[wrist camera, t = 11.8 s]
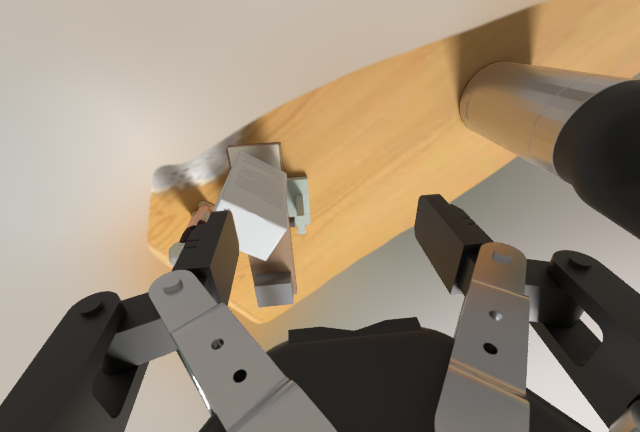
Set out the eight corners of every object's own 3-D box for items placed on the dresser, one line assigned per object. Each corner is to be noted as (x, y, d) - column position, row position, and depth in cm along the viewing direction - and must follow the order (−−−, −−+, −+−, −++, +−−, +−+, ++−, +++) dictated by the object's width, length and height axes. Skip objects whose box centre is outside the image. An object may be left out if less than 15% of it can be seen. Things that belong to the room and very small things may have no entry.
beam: (286, 136, 36) (285, 150, 31) (300, 280, 48) (301, 305, 43) (224, 140, 36) (214, 155, 31) (254, 284, 47) (250, 310, 43)
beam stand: (307, 176, 44) (310, 198, 38) (310, 221, 49) (313, 247, 43) (225, 182, 44) (216, 206, 38) (236, 227, 48) (228, 254, 42)
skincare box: (225, 179, 35) (199, 237, 25) (240, 148, 33) (219, 196, 23) (272, 201, 37) (266, 263, 27) (289, 173, 35) (288, 228, 25)
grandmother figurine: (207, 233, 48) (184, 291, 37) (184, 223, 47) (153, 280, 36) (227, 197, 45) (208, 249, 34) (203, 185, 44) (175, 235, 33)
